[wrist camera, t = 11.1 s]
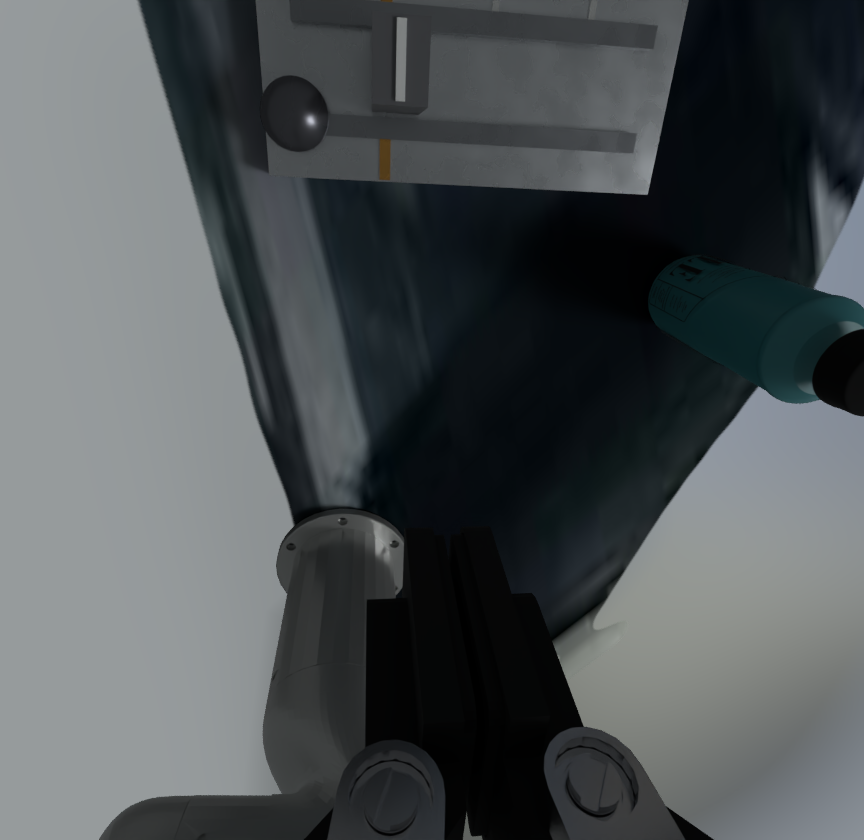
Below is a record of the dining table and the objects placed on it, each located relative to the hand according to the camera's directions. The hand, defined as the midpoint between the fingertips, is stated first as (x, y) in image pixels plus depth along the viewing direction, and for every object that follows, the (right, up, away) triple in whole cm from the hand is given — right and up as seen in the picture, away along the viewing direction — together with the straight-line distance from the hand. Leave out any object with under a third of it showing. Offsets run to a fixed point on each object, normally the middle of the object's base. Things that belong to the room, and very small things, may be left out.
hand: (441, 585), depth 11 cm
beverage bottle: (+19, +14, +33) cm, 40 cm away
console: (+2, +26, +25) cm, 36 cm away
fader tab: (-2, +25, +22) cm, 33 cm away
